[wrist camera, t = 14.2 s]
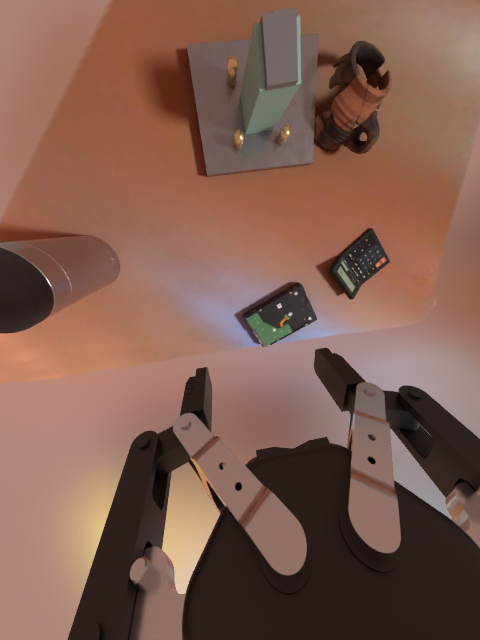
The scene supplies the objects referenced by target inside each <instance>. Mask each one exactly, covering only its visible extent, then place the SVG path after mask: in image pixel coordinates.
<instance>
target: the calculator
mask: <svg viewBox="0 0 480 640" xmlns="http://www.w3.org/2000/svg"><path fill="white" fill-rule="evenodd" d="M389 262H390V261H389V259H388V257H387V255H386V253H385V251H384V249H383V248H382V246H381V244H380V242H379V240H378V238H377V236H376V234H375V232H374V231H373V229H372V228H370V229H369V230H368V231H367V232H366V233H365V234H363V235H362V236H361V237H360V238H359V239H358V240H357V241H356V242H354V243H353V244H352V245H351V246H350V247H349V248H348V249H346V250H345V251H344V252H343V253H342V254H341V255H340V256H338V258H337V259H336V261H335V262H334V264H333V265H332V267H331V268H330V270H329V271H330V273H331V274H332V275H333V277H334V278H335V280H336V281H337V282H338V284H339V285H340V287H341V288H342V289H343V291H344V292H345V294H346V295H347V296H348V298H349V299H354V297H355V295H356V294H357V292H358V290H359V288H360V287H361V285H362V284H363V283H364V282H366V281H367V280H368V279H369V278H371V277H372V276H373V275H374V274H376V273H377V272H378V271H379V270H380V269H382V268H383V267H384V266H385V265H387V264H388V263H389Z"/></svg>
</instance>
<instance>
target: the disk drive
mask: <svg viewBox="0 0 480 640" xmlns="http://www.w3.org/2000/svg"><path fill="white" fill-rule="evenodd" d="M243 316H244V319H245V321H246V322H247V324H248V325H249V327H250V328H251V330H252V332H253V333H254V335H255V336H256V337H257V339H258V340H259V342H260V343H261V345H262V346H263V347H265V346H266V347H267V346H269V345H272V344H274V343H276V342H277V341H279V340H281V339H283V338H285V337H286V336H288V335H290V334H292V333H294V332H296V331H297V330H299V329H301V328H303V327H305V326H306V325H309V324H310V323H312V322H314V321H315V320H317V317H316V315H315V313H314V311H313V308H312V306H311V304H310V301H309V300H308V298H307V296H306V292H305V290H304V288H303V286H302V285H301V284H300V283H296V284H294V285H292V286H291V287H289V288H287V289H286V290H284V291H283V292H281V293H279V294H278V295H276V296H274V297H272V298H271V299H269V300H267V301H266V302H264V303H262V304H260V305H259V306H257V307H255V308H253V309H251V310H250V311H248V312H247V313H245V314H243Z"/></svg>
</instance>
